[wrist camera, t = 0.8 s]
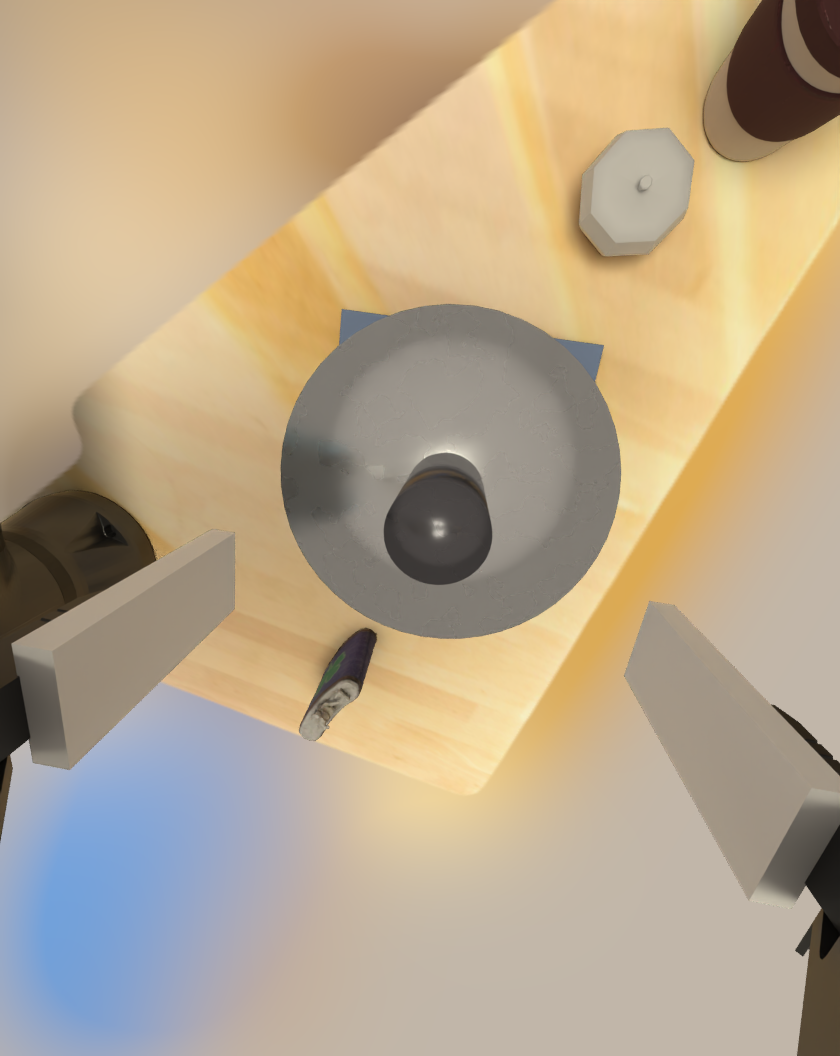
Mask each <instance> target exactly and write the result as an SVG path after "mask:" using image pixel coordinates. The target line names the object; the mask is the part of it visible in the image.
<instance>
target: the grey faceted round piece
mask: <svg viewBox="0 0 840 1056" xmlns="http://www.w3.org/2000/svg"><path fill="white" fill-rule="evenodd" d="M693 167H694V159H693V158H692V157H691V155H690V154H689V153H688V151H687V150H686V149H685V148H684V146H683V145H682V144H681V143H680V141H679V140H678V139H677V137H676V136H675V135H674V134H673V132H672V131H671V130H670V129H669V128H658V129H645V130H632V131H625V132H623V133H621V134H619V135H617V136H616V137H615V138H614V139H613V140H612V141H611V142H610V144H609V145H608V146H607V147H606V148H605V149H604V150H603V152H602V153H601V154H600V155H599V156H598V157H597V158H596V160H595V161H594V162H593V163H592V164H591V165H590V166H589V168H588V169H587V170H586V171H585V172H584V173H583V174H582V187H581V202H580V216H579V226H580V229H581V231H582V232H583V233H584V234H585V235H586V237H587V238H588V239H589V240H590V241H591V243H592V244H593V245H594V246H595V248H596V249H597V250H598V251H599V252H600V254H601V255H602V256H623V255H645V254H649V253H650V252H651V251H652V250H653V249H654V248H655V247H656V246H657V245H658V244H659V243H660V242H661V241H662V240H663V239H664V238H665V237H666V236H667V235H668V234H669V233H670V232H671V231H672V230H673V229H674V228H675V227H676V226H677V225H678V224H679V222H680V221H681V220H682V219H683V218H684V216H685V213H686V211H687V209H688V204H689V197H690V189H691V182H692V175H693Z"/></svg>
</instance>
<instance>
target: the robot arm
mask: <svg viewBox="0 0 840 1056" xmlns="http://www.w3.org/2000/svg"><path fill="white" fill-rule="evenodd" d="M234 609H235V533H233V532H227V531H221V530H215V529H211V530H209V531H208V532H206V533H204V534H202V535H201V536H199V537H197V538H195V539H194V540H192V541H190V542H188V543H187V544H185V545H183V546H181V547H180V548H178V549H176V550H174V551H173V552H171V553H169V554H167V555H166V556H164V557H162V558H160V559H159V560H157V561H155V558H154V554H153V550H152V548H151V545H150V543H149V541H148V539H147V537H146V535H145V533H144V532H143V530H142V529H141V527H140V526H139V525H138V523H137V522H136V521H135V520H134V519H133V518H132V517H131V516H130V515H129V514H128V513H127V512H126V511H125V510H123V509H122V508H121V507H119V506H118V505H117V504H115V503H113V502H112V501H110V500H108V499H106V498H104V497H102V496H99V495H96V494H93V493H90V492H85V491H63V492H59V493H55V494H51V495H47V496H44V497H41V498H38V499H36V500H34V501H32V502H30V503H28V504H27V505H25V506H24V507H23V508H22V509H21V510H19V511H18V512H16V513H15V514H13V515H12V516H10V517H9V518H8V519H6V520H5V521H3V522H2V523H1V524H0V840H1V834H2V829H3V823H4V817H5V811H6V805H7V799H8V793H9V787H10V781H11V775H12V769H13V767H12V762H11V758H10V754H11V753H12V752H14V751H15V750H16V749H17V748H18V747H20V746H21V745H22V744H23V743H25V742H26V741H27V740H28V739H29V743H30V749H31V755H32V760H33V763H36V764H41V765H46V766H52V767H57V768H62V769H67V770H70V769H71V768H72V767H73V766H74V765H75V764H77V763H78V762H79V761H80V759H82V757H84V756H85V755H86V754H87V753H88V752H89V751H90V750H91V749H92V748H93V747H94V746H95V745H96V744H97V743H98V742H99V741H100V740H101V739H102V738H103V737H104V736H105V735H106V734H107V733H108V732H109V731H110V730H111V729H112V728H113V727H114V726H115V725H116V724H117V723H118V722H119V721H120V720H122V719H123V718H124V717H125V716H126V715H127V714H128V713H129V712H130V711H131V710H132V709H133V708H134V707H135V706H136V705H137V704H138V703H139V702H140V701H141V700H142V699H143V698H144V697H145V696H146V695H147V694H148V693H149V692H150V691H151V690H152V689H153V688H154V687H155V686H156V685H157V684H158V683H159V682H160V681H161V680H162V679H163V678H164V677H165V676H166V675H168V674H169V673H170V672H171V671H172V670H173V669H174V668H175V667H176V666H177V665H178V664H179V663H180V662H181V661H182V660H183V659H184V658H185V657H186V656H187V655H188V654H189V653H190V652H191V651H192V650H193V649H194V648H195V647H196V646H197V645H198V644H199V643H200V642H201V641H202V640H203V639H204V638H205V637H206V636H207V635H208V634H209V633H210V632H211V631H213V630H214V629H215V628H216V627H217V626H218V625H219V624H220V623H221V622H222V621H223V620H224V619H225V618H226V617H227V616H228V615H229V614H230V613H231V612H232V611H233V610H234ZM624 677H625V679H626V680H627V682H628V684H629V686H630V688H631V690H632V691H633V693H634V695H635V697H636V698H637V700H638V702H639V704H640V706H641V708H642V709H643V711H644V713H645V715H646V717H647V718H648V720H649V722H650V724H651V725H652V727H653V729H654V731H655V733H656V735H657V736H658V738H659V740H660V742H661V744H662V745H663V747H664V749H665V751H666V753H667V754H668V756H669V758H670V760H671V762H672V763H673V765H674V767H675V769H676V770H677V772H678V774H679V776H680V778H681V780H682V781H683V783H684V785H685V787H686V789H687V790H688V792H689V794H690V796H691V797H692V799H693V801H694V803H695V805H696V806H697V808H698V810H699V812H700V813H701V815H702V817H703V819H704V821H705V823H706V824H707V826H708V828H709V830H710V832H711V833H712V835H713V837H714V839H715V840H716V842H717V844H718V846H719V848H720V850H721V851H722V853H723V855H724V857H725V858H726V860H727V862H728V864H729V866H730V868H731V869H732V871H733V873H734V875H735V877H736V878H737V880H738V882H739V884H740V886H741V887H742V889H743V891H744V893H745V894H746V896H747V898H748V900H749V901H753V902H758V903H763V904H768V905H773V906H778V907H784V908H789V909H792V907H793V906H794V904H795V902H796V901H797V899H798V898H799V896H800V894H801V893H802V891H803V889H804V887H805V886H807V887H808V889H809V890H810V892H811V893H812V895H813V896H814V898H815V899H816V900H817V902H818V903H819V905H820V906H821V908H822V909H821V911H820V912H819V913H818V915H817V917H816V918H815V920H814V921H813V923H812V924H811V926H810V928H809V929H808V931H807V933H806V934H805V936H804V937H803V939H802V940H801V942H800V943H799V945H798V947H797V948H796V950H795V951H796V952H798V953H799V954H800V955H802V956H804V954H805V953H806V951H807V950H808V949H810V951H809V959H808V968H807V977H806V986H805V994H804V1001H803V1010H802V1018H801V1027H800V1036H799V1044H798V1052H797V1056H840V763H839V762H838V761H837V760H833V756H832V755H831V754H830V753H829V752H828V751H827V750H826V749H825V748H824V747H823V746H822V745H821V744H818V743H817V740H816V739H815V738H814V737H813V736H812V735H811V734H810V733H809V732H808V731H807V730H806V729H805V728H804V727H803V726H802V725H801V724H800V723H799V722H798V721H796V720H795V719H793V718H792V717H791V716H789V715H788V714H786V713H785V712H784V711H782V710H781V709H779V708H778V707H776V706H775V705H771V704H770V703H769V702H768V701H767V700H766V699H765V698H764V697H763V696H762V695H761V694H760V693H759V692H758V691H757V690H756V689H755V688H754V687H753V686H752V685H751V684H750V683H749V682H748V681H747V680H746V679H745V677H744V676H743V675H742V674H741V673H740V672H739V671H738V670H737V669H736V668H735V667H734V666H733V665H732V664H731V663H730V662H729V661H728V660H727V659H726V658H725V657H724V656H723V655H722V654H721V653H720V652H719V651H718V650H717V649H716V648H715V646H714V645H713V644H712V643H711V642H710V641H709V640H708V639H707V638H706V637H705V636H704V635H703V634H702V633H701V632H700V631H699V630H698V629H697V628H696V627H695V626H694V625H693V624H692V623H691V622H690V621H689V620H688V618H687V617H685V615H684V614H683V613H682V612H681V611H680V610H679V609H678V608H677V607H676V606H675V605H670V604H664V603H658V602H652V601H649V604H648V607H647V609H646V613H645V615H644V619H643V621H642V624H641V627H640V630H639V633H638V636H637V639H636V642H635V645H634V648H633V651H632V654H631V657H630V660H629V662H628V666H627V668H626V671H625V674H624Z"/></svg>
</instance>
